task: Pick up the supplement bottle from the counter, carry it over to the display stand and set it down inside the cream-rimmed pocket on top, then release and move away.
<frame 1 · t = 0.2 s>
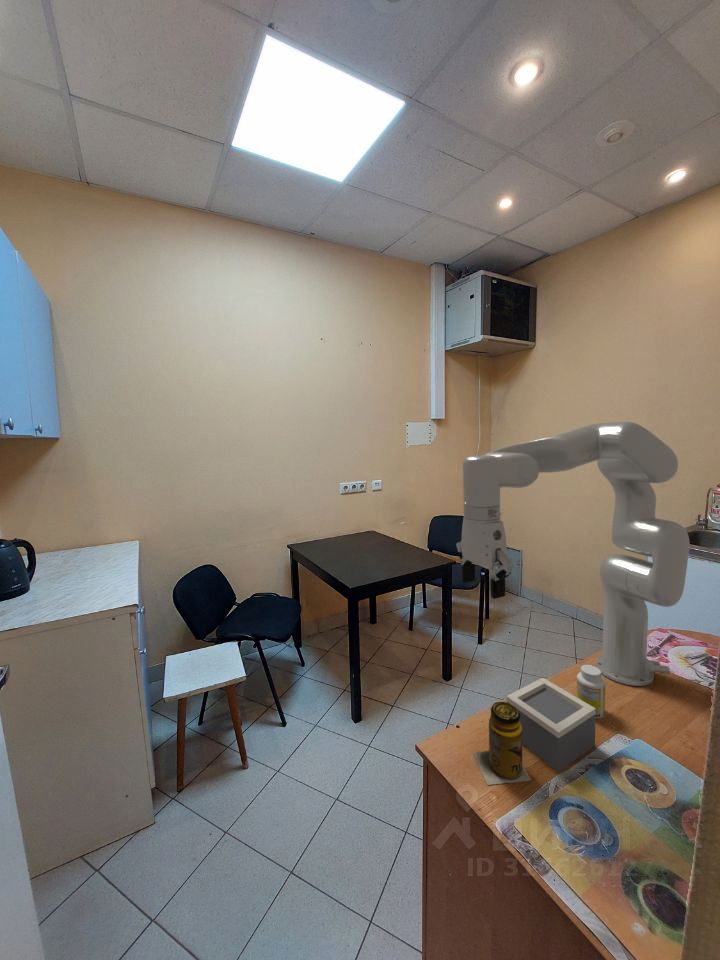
hand: (482, 589, 84), 31 cm above the table, tool pointing down, fingers open, 9 cm apart
supplement bottle: (590, 712, 87), on the table
display stand: (549, 738, 80), on the table
condiment: (500, 767, 74), on the table
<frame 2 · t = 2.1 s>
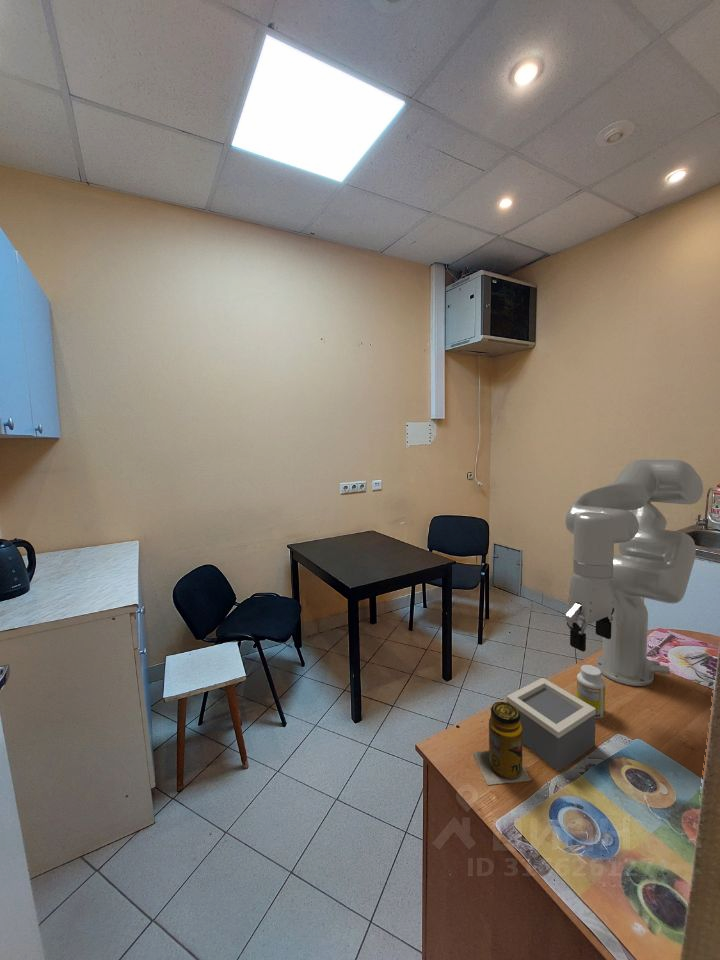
hand: (590, 642, 85), 17 cm above the table, tool pointing down, fingers open, 9 cm apart
nothing on the table moved.
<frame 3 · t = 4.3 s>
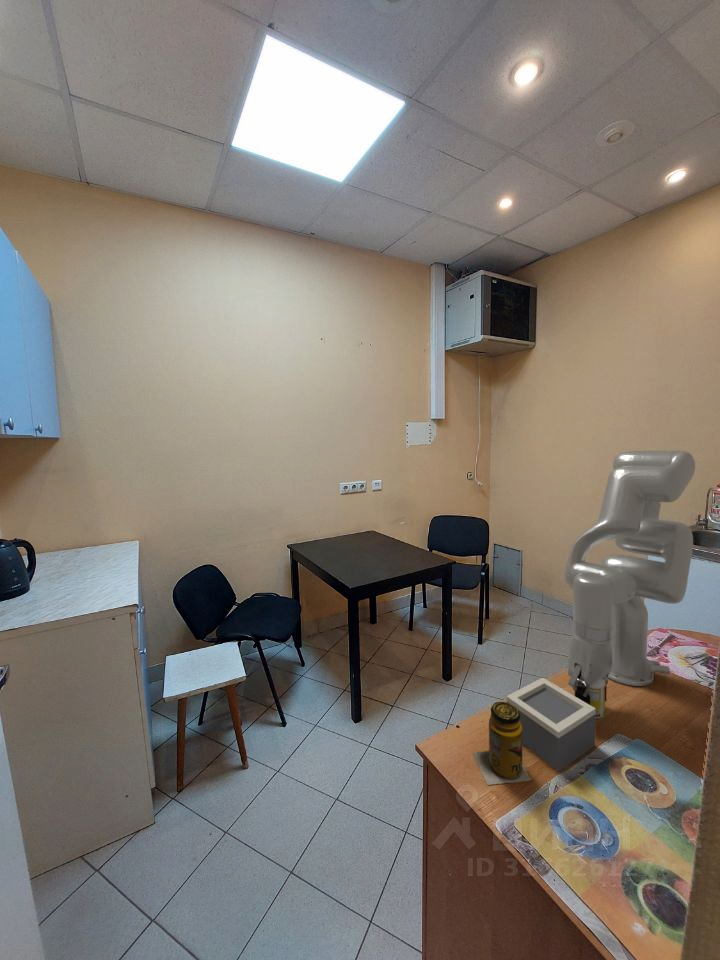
hand: (590, 702, 87), 2 cm above the table, tool pointing down, fingers closed on supplement bottle, 5 cm apart
supplement bottle: (590, 711, 87), on the table, touching gripper
everything else where it was.
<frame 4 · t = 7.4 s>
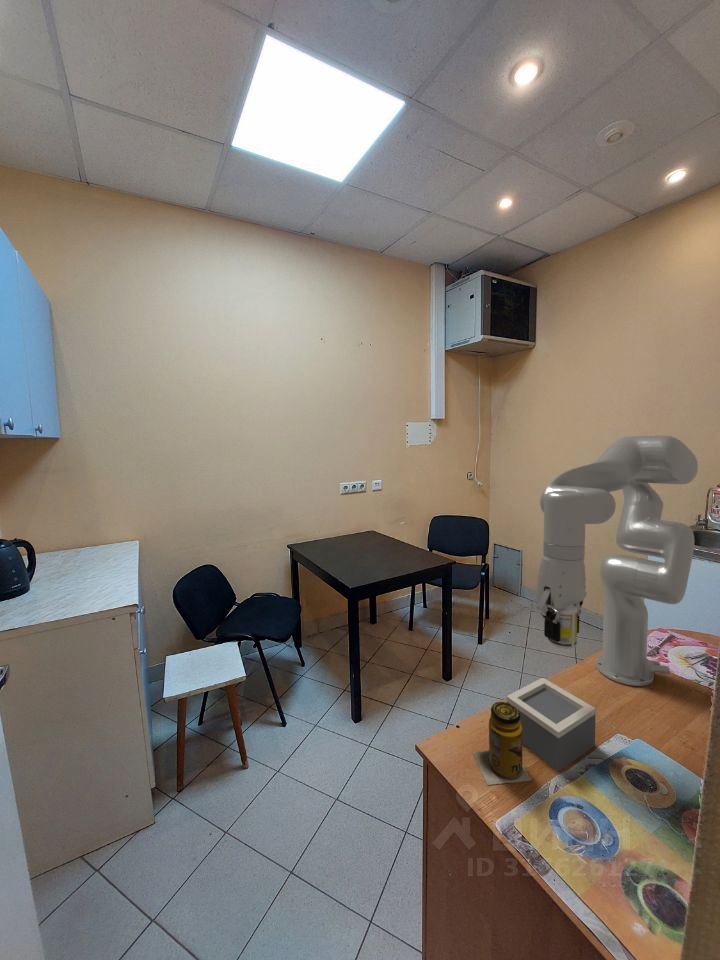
hand: (561, 634, 80), 22 cm above the table, tool pointing down, fingers closed on supplement bottle, 5 cm apart
supplement bottle: (561, 643, 80), point 20 cm above the table, touching gripper
everything else where it was.
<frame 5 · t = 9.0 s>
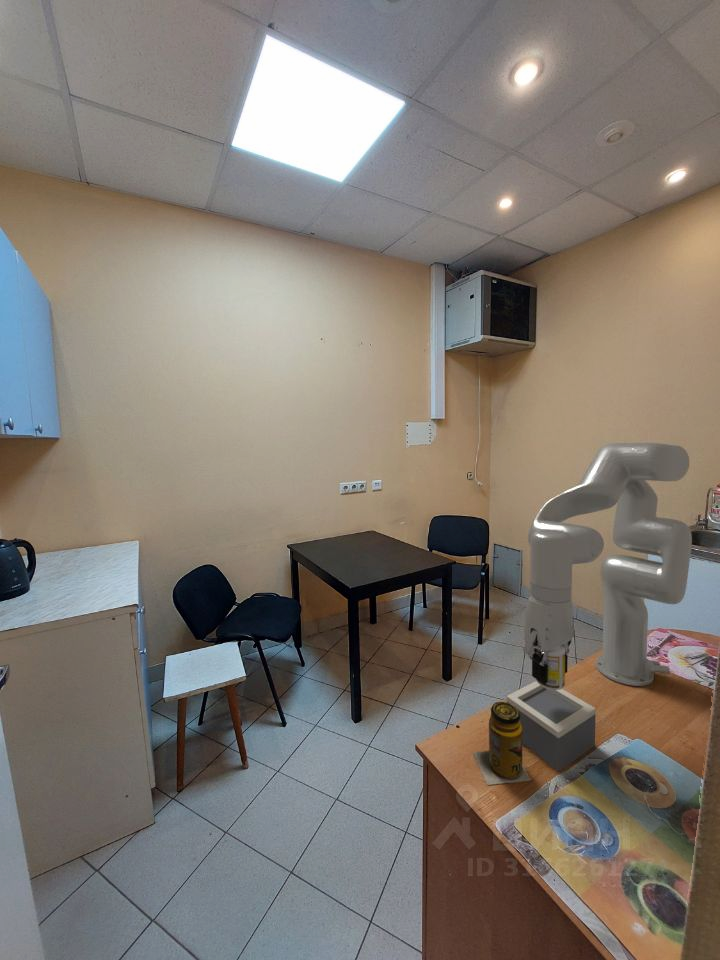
hand: (549, 674, 79), 15 cm above the table, tool pointing down, fingers closed on supplement bottle, 5 cm apart
supplement bottle: (549, 683, 79), point 12 cm above the table, touching gripper
everything else where it was.
when the fingers open (11 cm above the table, at t = 10.4 s): supplement bottle drops 2 cm, resting on display stand.
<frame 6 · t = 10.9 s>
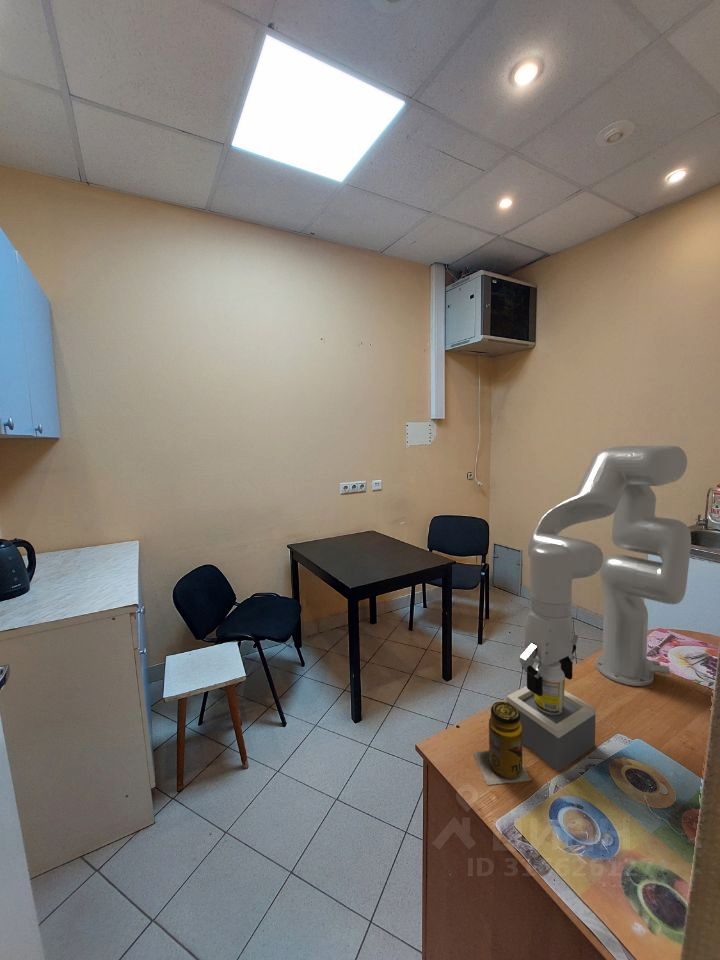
hand: (549, 683, 79), 12 cm above the table, tool pointing down, fingers open, 9 cm apart
supplement bottle: (548, 707, 80), point 7 cm above the table, touching display stand
everything else where it was.
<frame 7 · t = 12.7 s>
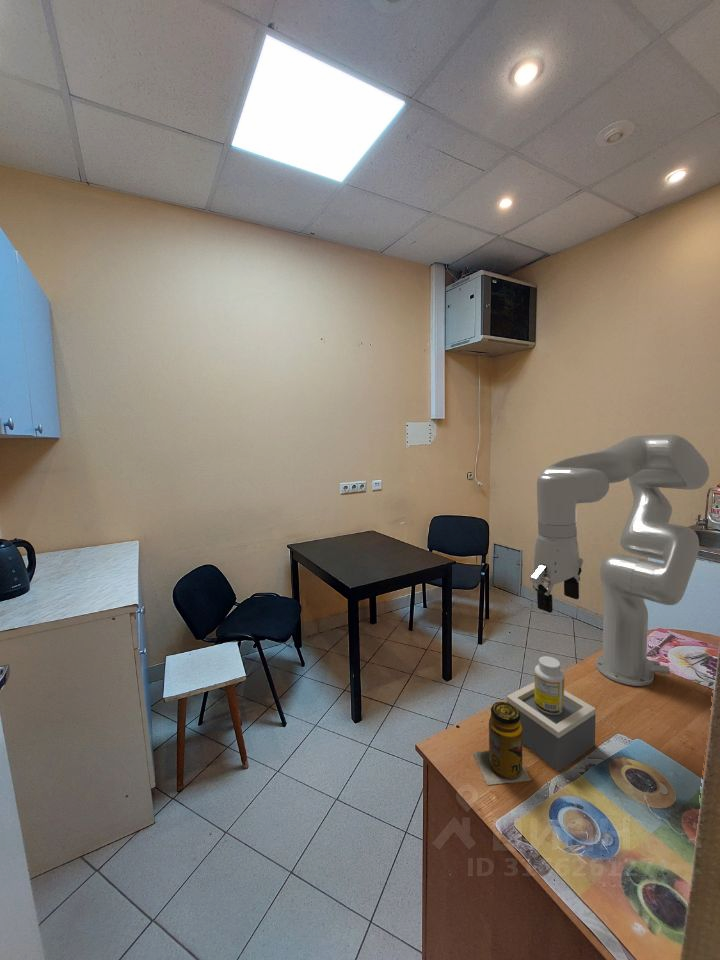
hand: (558, 603, 85), 26 cm above the table, tool pointing down, fingers open, 9 cm apart
nothing on the table moved.
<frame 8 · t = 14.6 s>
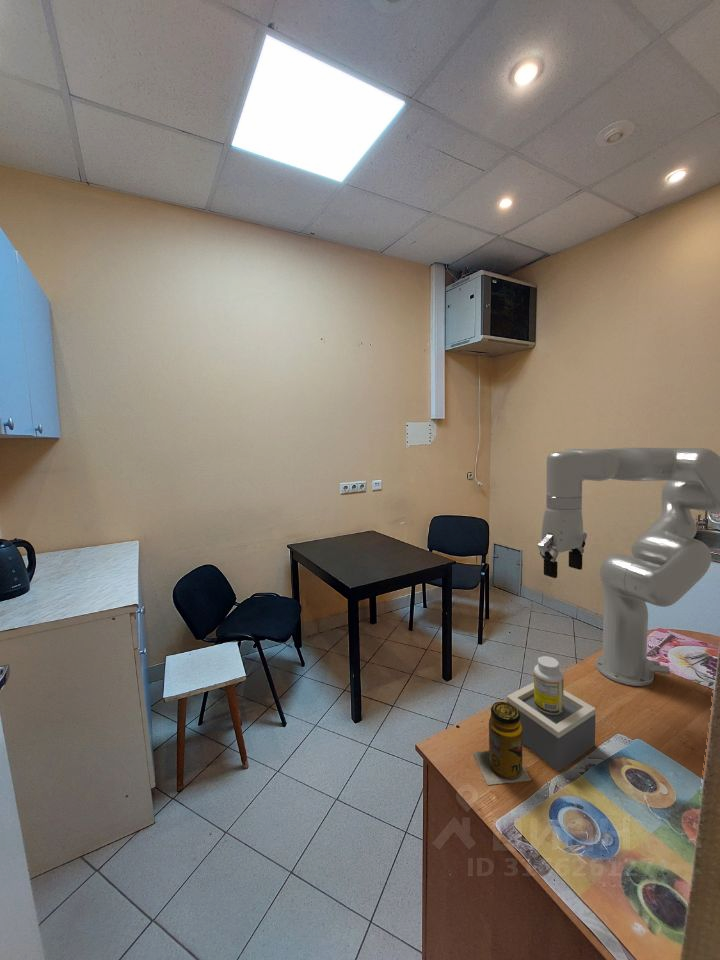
hand: (563, 572, 93), 30 cm above the table, tool pointing down, fingers open, 9 cm apart
nothing on the table moved.
at the end: supplement bottle 0.2 cm off-centre on the display stand, point 6.8 cm above the display stand's base; supplement bottle tilted 1°; the gripper is holding nothing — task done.
